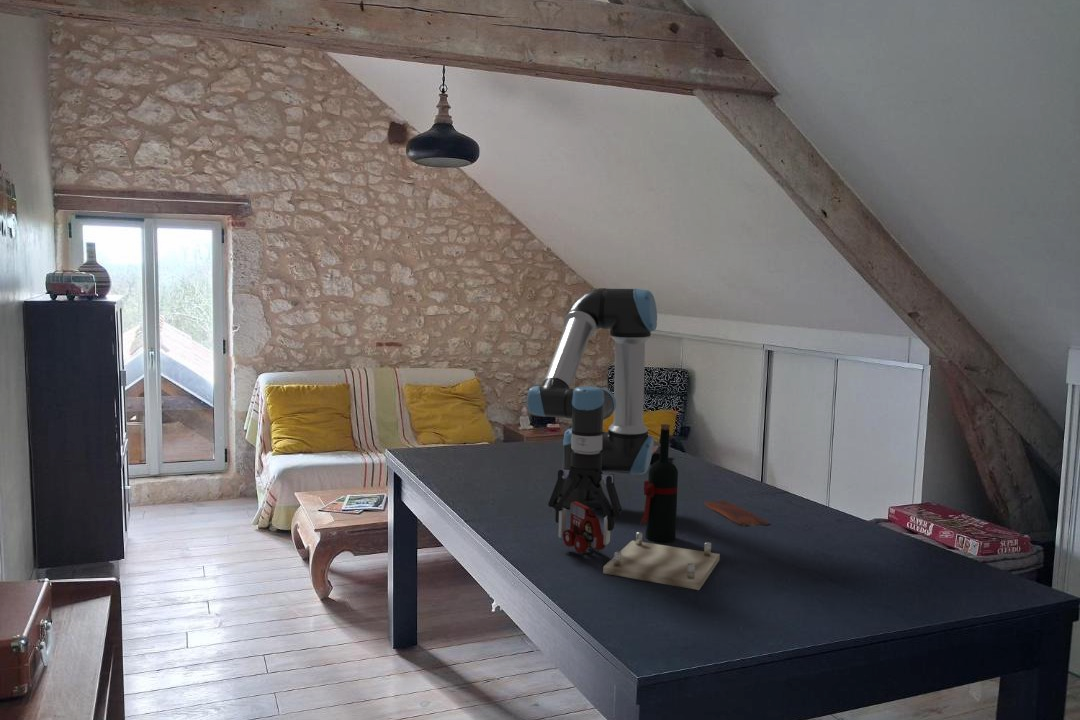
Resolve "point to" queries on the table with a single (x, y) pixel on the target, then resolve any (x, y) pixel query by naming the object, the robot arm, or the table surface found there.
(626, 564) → the standoff plate
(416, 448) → the table surface
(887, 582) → the table surface
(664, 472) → the wine bottle
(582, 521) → the toy fire truck
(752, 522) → the wooden tablet
